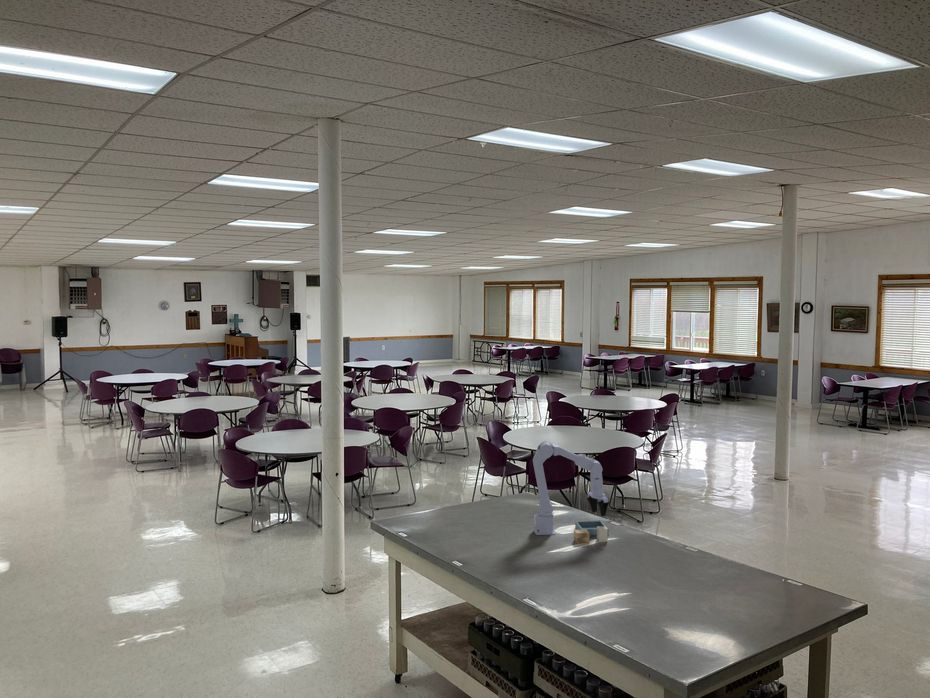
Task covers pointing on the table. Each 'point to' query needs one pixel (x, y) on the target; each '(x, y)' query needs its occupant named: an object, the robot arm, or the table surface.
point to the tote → (589, 526)
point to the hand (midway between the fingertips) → (598, 513)
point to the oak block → (581, 536)
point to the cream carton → (602, 534)
